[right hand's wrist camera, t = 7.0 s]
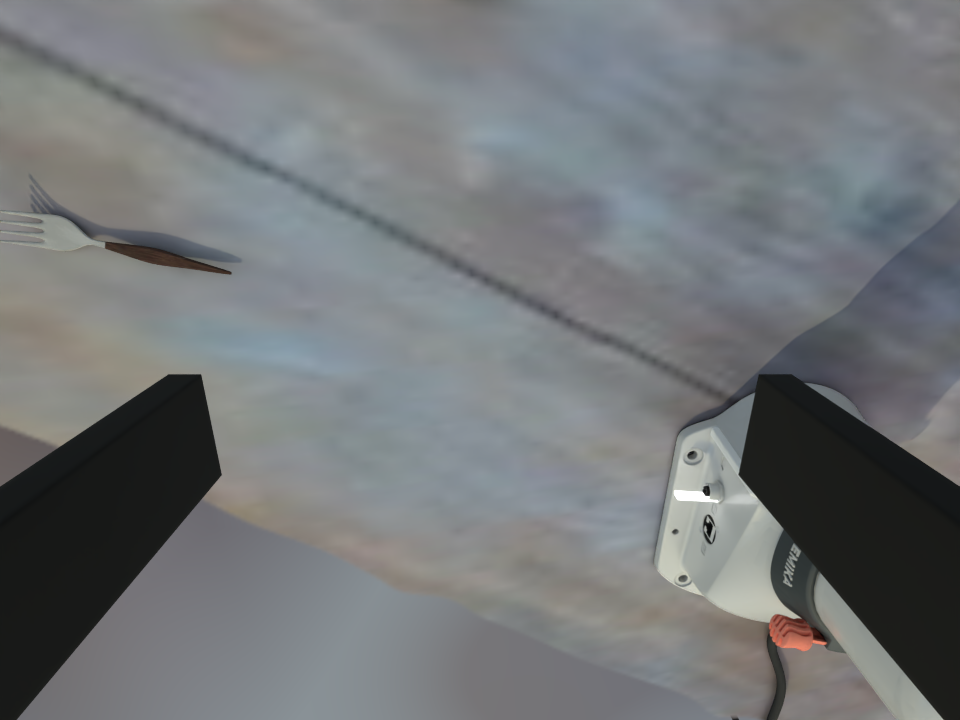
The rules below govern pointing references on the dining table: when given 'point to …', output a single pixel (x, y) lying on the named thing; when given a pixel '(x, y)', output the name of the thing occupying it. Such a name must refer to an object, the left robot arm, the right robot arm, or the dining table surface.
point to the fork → (95, 242)
